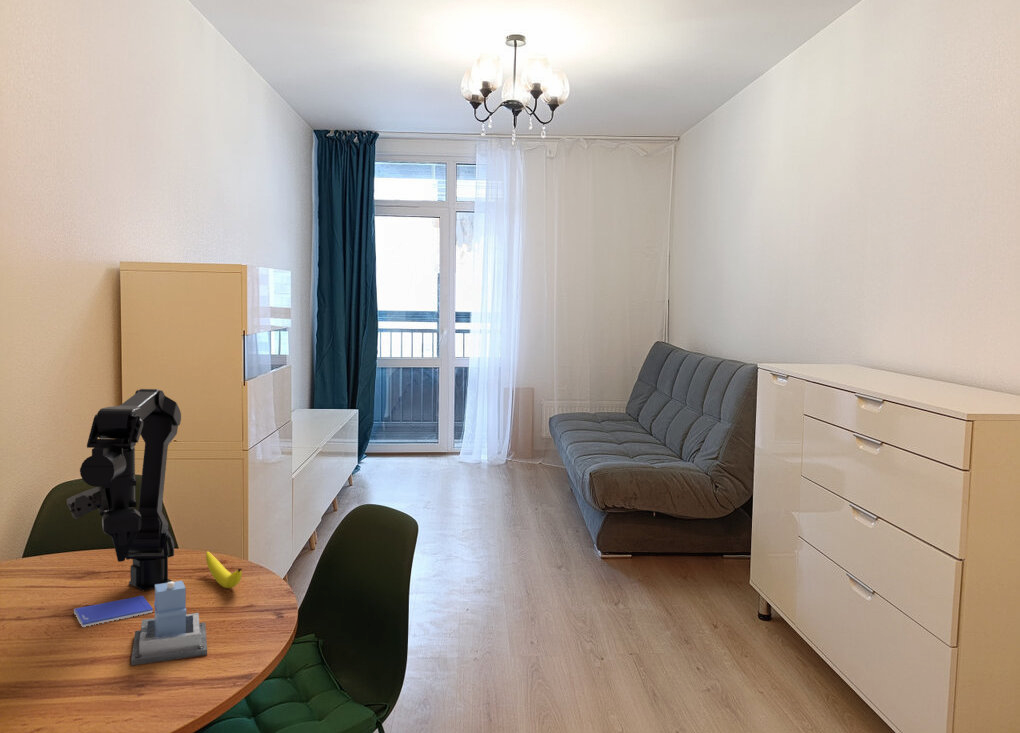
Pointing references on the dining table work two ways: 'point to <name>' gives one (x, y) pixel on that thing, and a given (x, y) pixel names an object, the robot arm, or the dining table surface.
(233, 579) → the banana
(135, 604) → the hard drive
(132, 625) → the dining table surface
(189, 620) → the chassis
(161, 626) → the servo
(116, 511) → the robot arm
